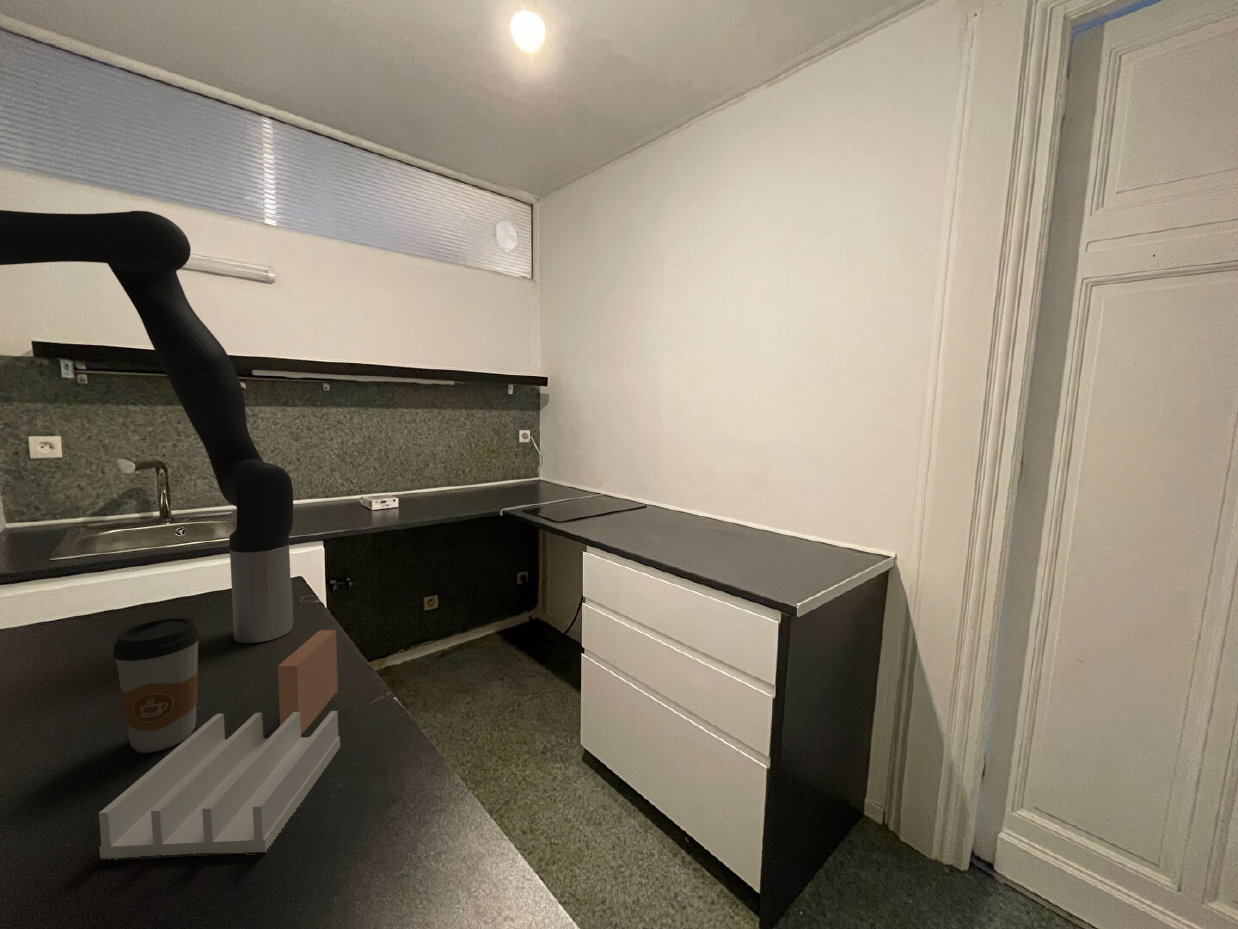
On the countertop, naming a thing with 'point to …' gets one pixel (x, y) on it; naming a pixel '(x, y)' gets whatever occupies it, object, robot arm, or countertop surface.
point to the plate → (308, 678)
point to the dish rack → (219, 791)
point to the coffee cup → (158, 681)
